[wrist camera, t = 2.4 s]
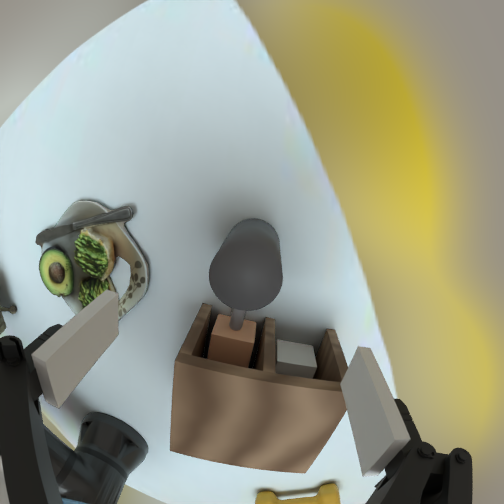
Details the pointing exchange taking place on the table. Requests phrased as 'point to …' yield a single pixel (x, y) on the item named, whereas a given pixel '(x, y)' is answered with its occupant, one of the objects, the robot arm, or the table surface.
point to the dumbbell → (325, 500)
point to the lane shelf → (254, 404)
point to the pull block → (243, 287)
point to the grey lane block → (294, 359)
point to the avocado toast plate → (91, 256)
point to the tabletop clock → (0, 322)
